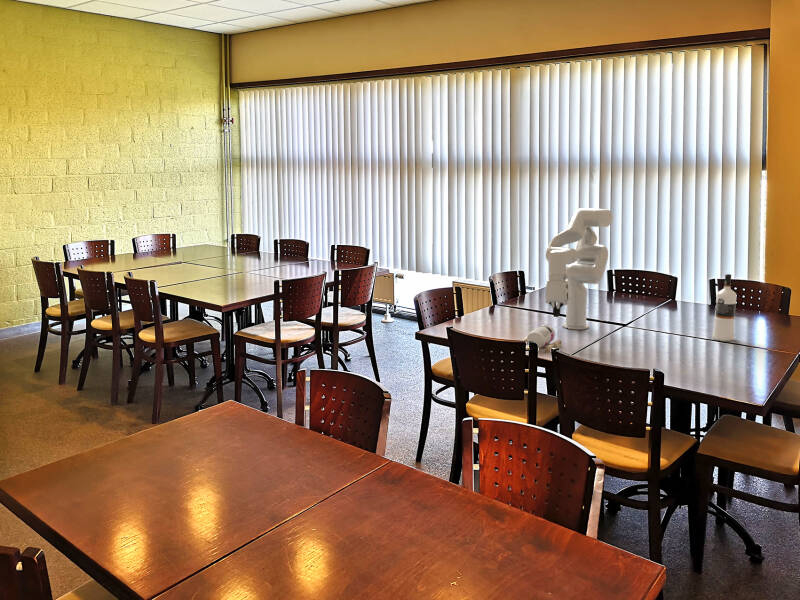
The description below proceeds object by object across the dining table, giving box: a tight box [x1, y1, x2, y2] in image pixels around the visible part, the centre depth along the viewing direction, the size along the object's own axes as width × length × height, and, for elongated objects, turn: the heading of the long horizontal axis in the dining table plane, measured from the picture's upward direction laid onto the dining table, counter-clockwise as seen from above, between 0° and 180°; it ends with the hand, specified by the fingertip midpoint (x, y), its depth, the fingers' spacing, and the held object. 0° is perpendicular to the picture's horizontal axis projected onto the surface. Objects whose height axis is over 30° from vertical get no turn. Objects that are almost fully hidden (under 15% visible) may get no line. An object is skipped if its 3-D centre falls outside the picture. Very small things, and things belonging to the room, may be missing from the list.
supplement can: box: [526, 324, 556, 349], centre depth 322 cm, size 8×8×15 cm
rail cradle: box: [521, 336, 562, 354], centre depth 322 cm, size 14×16×2 cm
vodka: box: [711, 273, 738, 342], centre depth 330 cm, size 9×9×30 cm
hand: (556, 316), depth 337 cm, fingers closed
